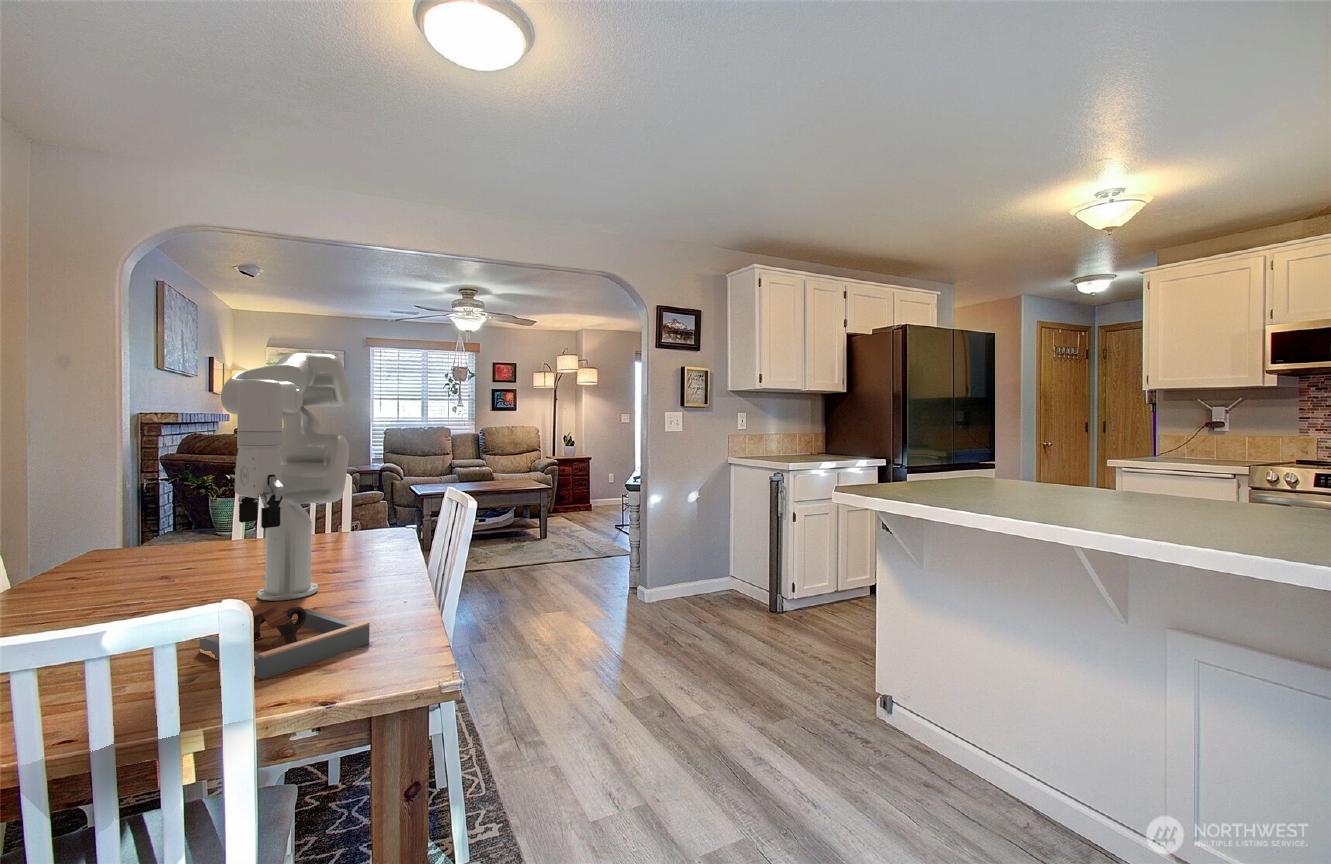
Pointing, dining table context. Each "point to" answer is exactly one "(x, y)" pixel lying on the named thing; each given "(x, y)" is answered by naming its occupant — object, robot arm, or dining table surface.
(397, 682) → the dining table surface
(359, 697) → the dining table surface
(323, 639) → the bay
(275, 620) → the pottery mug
